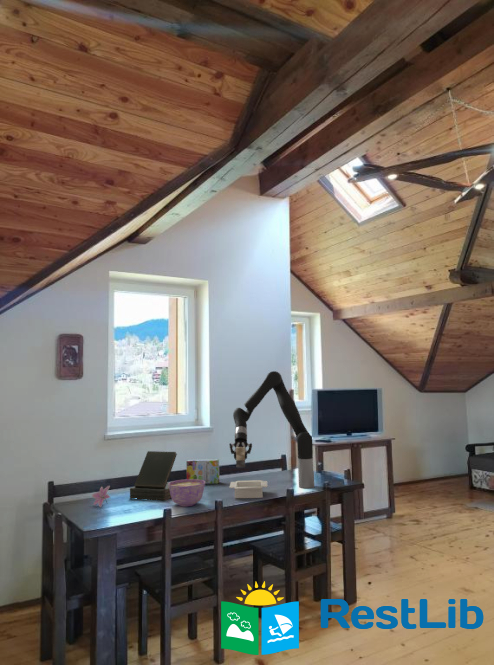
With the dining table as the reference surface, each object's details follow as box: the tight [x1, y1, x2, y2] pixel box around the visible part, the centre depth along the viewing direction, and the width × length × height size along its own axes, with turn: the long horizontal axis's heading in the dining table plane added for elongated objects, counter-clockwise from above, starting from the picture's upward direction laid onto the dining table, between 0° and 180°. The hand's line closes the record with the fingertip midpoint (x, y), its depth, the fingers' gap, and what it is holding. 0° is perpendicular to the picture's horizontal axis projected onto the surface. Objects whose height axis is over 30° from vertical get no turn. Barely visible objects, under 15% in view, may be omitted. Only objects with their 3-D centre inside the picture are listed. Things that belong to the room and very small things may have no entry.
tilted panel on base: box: [129, 450, 178, 502], centre depth 281 cm, size 23×20×25 cm
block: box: [235, 447, 246, 468], centre depth 279 cm, size 5×5×11 cm
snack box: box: [186, 458, 220, 485], centre depth 314 cm, size 21×6×15 cm, turn 84°
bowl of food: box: [167, 478, 206, 507], centre depth 257 cm, size 20×20×12 cm
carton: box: [229, 479, 268, 499], centre depth 276 cm, size 22×22×6 cm
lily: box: [91, 485, 111, 508], centre depth 262 cm, size 12×12×10 cm
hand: (240, 458), depth 277 cm, fingers closed on block, 5 cm apart
